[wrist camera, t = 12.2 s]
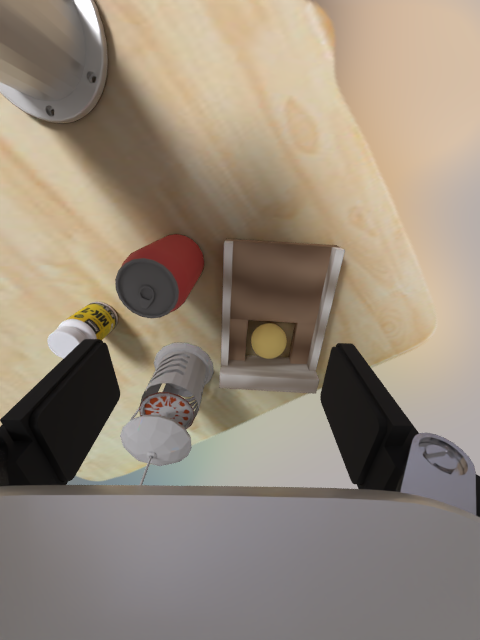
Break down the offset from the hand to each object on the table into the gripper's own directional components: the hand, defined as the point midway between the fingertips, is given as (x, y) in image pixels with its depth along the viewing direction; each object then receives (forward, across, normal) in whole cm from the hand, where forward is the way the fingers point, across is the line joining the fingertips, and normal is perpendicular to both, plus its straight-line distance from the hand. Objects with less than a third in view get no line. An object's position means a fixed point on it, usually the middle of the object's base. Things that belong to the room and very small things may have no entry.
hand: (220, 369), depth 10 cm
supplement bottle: (+24, +19, +10) cm, 33 cm away
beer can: (+24, +7, +2) cm, 25 cm away
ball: (+21, -5, +12) cm, 25 cm away
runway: (+24, -6, +9) cm, 26 cm away
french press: (+24, +9, +20) cm, 32 cm away
